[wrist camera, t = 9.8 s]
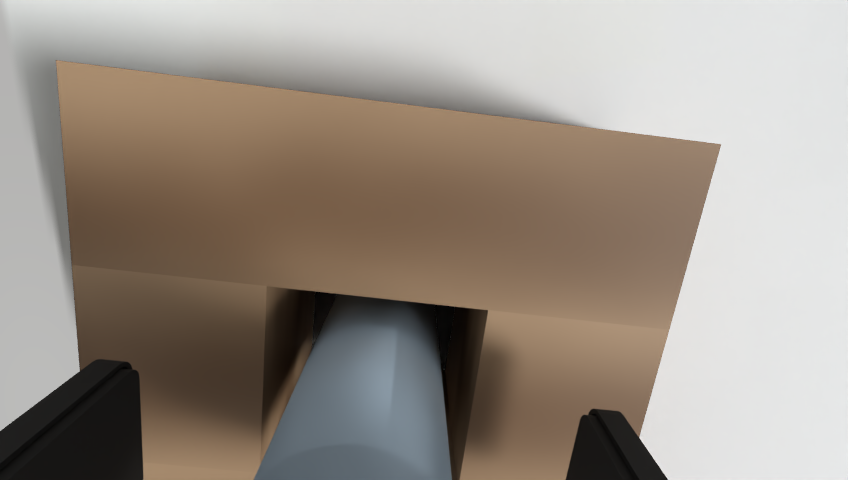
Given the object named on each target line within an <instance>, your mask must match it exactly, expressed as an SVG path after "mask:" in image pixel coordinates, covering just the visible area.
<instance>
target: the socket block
mask: <svg viewBox="0 0 848 480" xmlns="http://www.w3.org/2000/svg"><path fill="white" fill-rule="evenodd" d="M56 66H57V79H58V92H59V105H60V118H61V131H62V144H63V157H64V170H65V183H66V196H67V209H68V222H69V235H70V248H71V261H72V274H73V287H74V300H75V313H76V326H77V339H78V352H79V363H80V364H79V365H80V371H81V370H82V369H84V368H85V367H86V366H88V365H89V364H90V363H92V362H93V361H95V360H97V359H105V360H115V361H125V362H129V363H130V364H131V366H132V369H133V370H137V371H138V373H139V377H140V401H141V426H142V451H143V480H254V478H255V475H256V473H257V471H258V469H259V467H260V464H261V462H262V460H263V458H264V455H265V453H266V451H267V449H268V446H269V444H270V442H271V440H272V438H273V435H274V433H275V431H276V429H277V426H278V424H279V422H280V420H281V417H282V415H283V413H284V411H285V409H286V406H287V404H288V402H289V400H290V397H291V395H292V393H293V391H294V389H295V386H296V384H297V382H298V380H299V377H300V375H301V373H302V371H303V368H304V366H305V364H306V362H307V360H308V357H309V355H310V353H311V351H312V339H313V324H314V308H315V293H316V292H325V293H335V294H344V295H353V296H362V297H372V298H381V299H390V300H399V301H408V302H418V303H427V304H436V305H445V306H455V308H454V314H453V321H452V328H451V335H450V341H449V348H448V355H447V362H446V368H445V371H441V372H442V382H443V392H444V403H445V413H446V423H447V434H448V444H449V454H450V465H451V475H452V480H566V476H567V472H568V468H569V463H570V459H571V455H572V451H573V447H574V442H575V438H576V434H577V430H578V426H579V422H580V419H581V417H582V415H588V414H589V412H590V410H591V409H593V408H594V409H604V410H613V411H619V412H621V413H622V414H623V415H624V417H625V418H626V420H627V421H628V423H629V424H630V425H631V427H632V428H633V430H634V431H635V433H636V434H637V436H638V437H639V436H640V432H641V428H642V425H643V421H644V418H645V414H646V411H647V407H648V403H649V400H650V396H651V393H652V389H653V386H654V382H655V378H656V375H657V371H658V368H659V364H660V361H661V357H662V353H663V350H664V346H665V343H666V339H667V336H668V332H669V329H670V325H671V321H672V318H673V314H674V311H675V307H676V304H677V300H678V296H679V293H680V289H681V286H682V282H683V279H684V275H685V271H686V268H687V264H688V261H689V257H690V254H691V250H692V246H693V243H694V239H695V236H696V232H697V229H698V225H699V221H700V218H701V214H702V211H703V207H704V204H705V200H706V196H707V193H708V189H709V186H710V182H711V179H712V175H713V171H714V168H715V164H716V161H717V157H718V154H719V150H720V146H721V144H714V143H706V142H698V141H690V140H683V139H675V138H667V137H659V136H651V135H643V134H635V133H627V132H619V131H611V130H604V129H596V128H588V127H580V126H572V125H564V124H556V123H548V122H540V121H532V120H525V119H517V118H509V117H501V116H493V115H485V114H477V113H469V112H461V111H453V110H446V109H438V108H430V107H422V106H414V105H406V104H398V103H390V102H382V101H374V100H367V99H359V98H351V97H343V96H335V95H327V94H319V93H311V92H303V91H295V90H288V89H280V88H272V87H264V86H256V85H248V84H240V83H232V82H224V81H216V80H209V79H201V78H193V77H185V76H177V75H169V74H161V73H153V72H145V71H137V70H130V69H122V68H114V67H106V66H98V65H90V64H82V63H74V62H66V61H58V60H56Z"/></svg>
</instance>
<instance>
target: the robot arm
mask: <svg viewBox="0 0 848 480" xmlns="http://www.w3.org/2000/svg"><path fill="white" fill-rule="evenodd" d="M0 480H143V451H142V426H141V401H140V377H139V373H138V371H137V370H133V369H132V366H131V364H130V363H129V362H125V361H115V360H105V359H97V360H95V361H93V362H92V363H90V364H89V365H88V366H86V367H85V368H84V369H82V370H81V371H80V372H78V373H77V374H76V375H74V376H73V377H72V378H70V379H69V380H68V381H66V382H65V383H64V384H62V385H61V386H60V387H59V388H57V389H56V390H54V391H53V392H52V393H50V394H49V395H48V396H46V397H45V398H44V399H42V400H41V401H40V402H38V403H37V404H36V405H34V406H33V407H32V408H30V409H29V410H28V411H27V412H25V413H24V414H22V415H21V416H20V417H19V418H17V419H16V420H15V421H13V422H12V423H11V424H9V425H8V426H7V427H5V428H4V429H3V430H1V431H0ZM566 480H668V479H667V478H666V476H665V475H664V473H663V472H662V471H661V469H660V468H659V466H658V465H657V463H656V462H655V460H654V459H653V457H652V456H651V455H650V453H649V452H648V450H647V449H646V447H645V446H644V444H643V443H642V441H641V440H640V439H639V437H638V436H637V434H636V433H635V431H634V430H633V428H632V427H631V425H630V424H629V423H628V421H627V420H626V418H625V417H624V415H623V414H622V413H621V412H619V411H613V410H604V409H594V408H593V409H591V410H590V412H589V414H588V415H582V417H581V419H580V422H579V426H578V430H577V434H576V438H575V442H574V447H573V451H572V455H571V459H570V463H569V468H568V472H567V476H566Z"/></svg>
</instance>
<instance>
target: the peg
mask: <svg viewBox="0 0 848 480" xmlns="http://www.w3.org/2000/svg"><path fill="white" fill-rule="evenodd" d="M254 480H452V475H451V465H450V454H449V444H448V434H447V423H446V413H445V403H444V392H443V382H442V372H441V361H440V351H439V341H438V330H437V320H436V310H435V304H427V303H418V302H408V301H399V300H390V299H381V298H372V297H362V296H353V295H344V294H337V295H336V297H335V299H334V302H333V304H332V306H331V308H330V310H329V313H328V315H327V317H326V319H325V322H324V324H323V326H322V328H321V331H320V333H319V335H318V337H317V339H316V342H315V344H314V346H313V348H312V351H311V353H310V355H309V357H308V360H307V362H306V364H305V366H304V368H303V371H302V373H301V375H300V377H299V380H298V382H297V384H296V386H295V389H294V391H293V393H292V395H291V397H290V400H289V402H288V404H287V406H286V409H285V411H284V413H283V415H282V417H281V420H280V422H279V424H278V426H277V429H276V431H275V433H274V435H273V438H272V440H271V442H270V444H269V446H268V449H267V451H266V453H265V455H264V458H263V460H262V462H261V464H260V467H259V469H258V471H257V473H256V475H255V478H254Z"/></svg>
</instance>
